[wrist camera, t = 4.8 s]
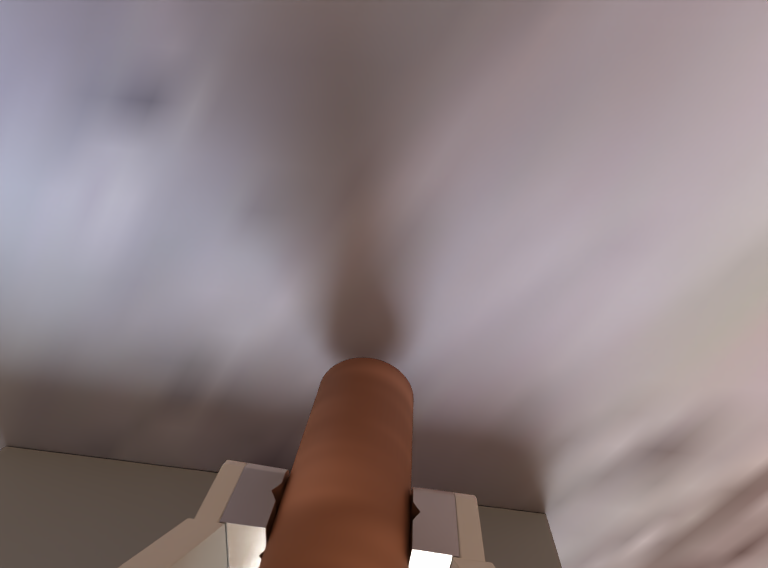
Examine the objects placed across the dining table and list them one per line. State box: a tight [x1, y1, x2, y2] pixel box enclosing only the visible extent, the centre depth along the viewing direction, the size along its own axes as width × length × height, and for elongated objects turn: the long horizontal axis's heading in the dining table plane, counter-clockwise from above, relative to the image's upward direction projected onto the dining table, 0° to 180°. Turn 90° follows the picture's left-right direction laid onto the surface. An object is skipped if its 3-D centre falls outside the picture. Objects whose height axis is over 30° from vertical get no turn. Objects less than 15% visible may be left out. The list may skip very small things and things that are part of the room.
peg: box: [259, 358, 413, 568], centre depth 10 cm, size 3×3×10 cm
